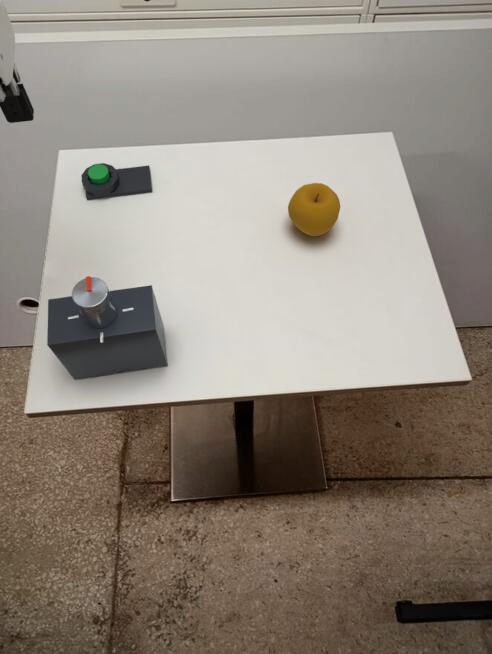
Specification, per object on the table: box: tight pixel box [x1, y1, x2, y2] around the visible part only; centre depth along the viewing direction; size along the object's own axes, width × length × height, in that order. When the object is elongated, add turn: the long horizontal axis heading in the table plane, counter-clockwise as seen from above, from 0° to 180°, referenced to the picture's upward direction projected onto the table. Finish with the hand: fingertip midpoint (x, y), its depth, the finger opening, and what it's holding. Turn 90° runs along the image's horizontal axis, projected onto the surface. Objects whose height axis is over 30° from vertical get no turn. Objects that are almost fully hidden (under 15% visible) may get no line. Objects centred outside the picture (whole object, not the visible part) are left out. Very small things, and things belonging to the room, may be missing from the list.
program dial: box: [71, 275, 117, 328], centre depth 64 cm, size 4×4×6 cm
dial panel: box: [46, 284, 169, 381], centre depth 72 cm, size 14×9×12 cm, turn 100°
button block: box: [81, 162, 153, 201], centre depth 92 cm, size 12×6×2 cm, turn 100°
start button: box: [88, 163, 110, 185], centre depth 91 cm, size 4×4×2 cm
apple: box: [287, 182, 341, 237], centre depth 85 cm, size 8×8×9 cm
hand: (21, 117), depth 63 cm, fingers closed
